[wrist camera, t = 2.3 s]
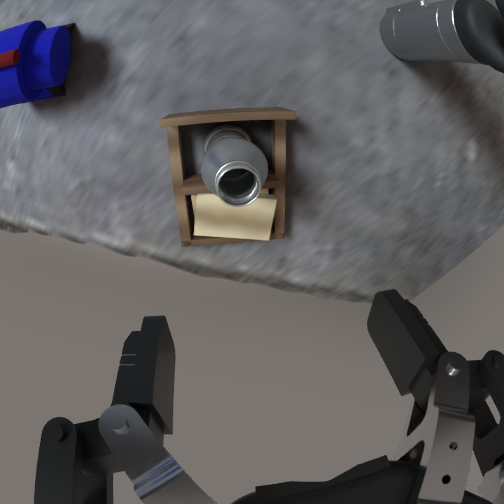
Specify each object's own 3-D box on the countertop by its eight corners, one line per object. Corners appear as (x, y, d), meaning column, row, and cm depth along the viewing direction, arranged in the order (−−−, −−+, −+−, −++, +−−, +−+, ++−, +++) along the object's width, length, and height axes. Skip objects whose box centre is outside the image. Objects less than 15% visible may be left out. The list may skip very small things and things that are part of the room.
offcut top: (197, 187, 40) (197, 192, 38) (274, 194, 42) (276, 199, 40) (194, 228, 43) (193, 235, 41) (266, 234, 45) (268, 240, 43)
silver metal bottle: (204, 122, 38) (196, 147, 21) (251, 123, 39) (283, 150, 22) (202, 165, 41) (196, 223, 24) (248, 165, 42) (275, 223, 25)
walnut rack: (168, 114, 37) (159, 119, 30) (280, 107, 38) (295, 111, 31) (183, 237, 47) (179, 265, 40) (280, 229, 49) (291, 254, 42)
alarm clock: (24, 36, 24) (-33, 31, 11) (86, 20, 26) (36, -1, 13) (18, 104, 30) (-41, 120, 17) (78, 93, 32) (23, 101, 20)
